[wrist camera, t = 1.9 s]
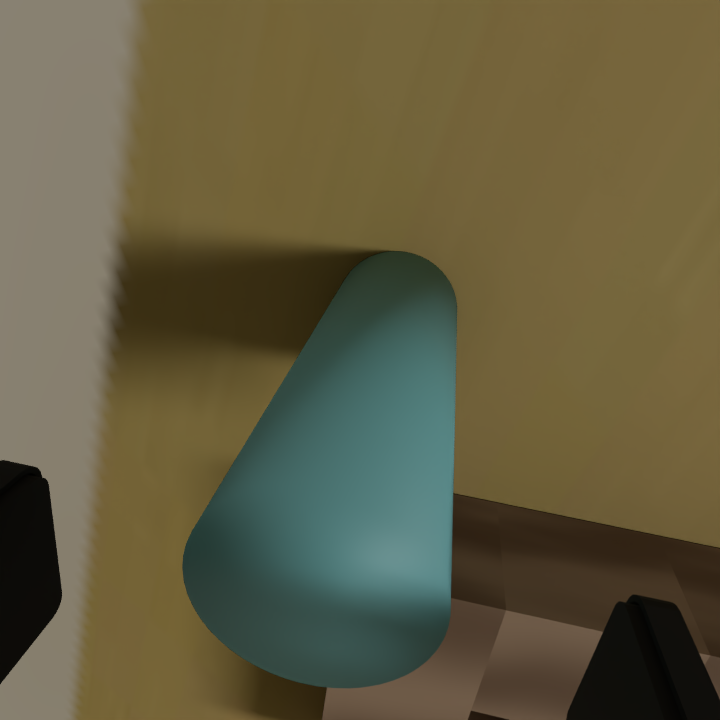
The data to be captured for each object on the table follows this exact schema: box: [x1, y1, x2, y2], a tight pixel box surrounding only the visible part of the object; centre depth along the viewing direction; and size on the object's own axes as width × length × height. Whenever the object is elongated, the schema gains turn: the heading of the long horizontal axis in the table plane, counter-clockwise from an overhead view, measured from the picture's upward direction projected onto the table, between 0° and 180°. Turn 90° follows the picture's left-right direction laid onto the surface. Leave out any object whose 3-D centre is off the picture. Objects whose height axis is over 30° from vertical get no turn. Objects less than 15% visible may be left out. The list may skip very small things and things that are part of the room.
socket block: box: [322, 494, 720, 720], centre depth 23 cm, size 16×16×5 cm
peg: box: [182, 251, 457, 688], centre depth 14 cm, size 4×4×12 cm
